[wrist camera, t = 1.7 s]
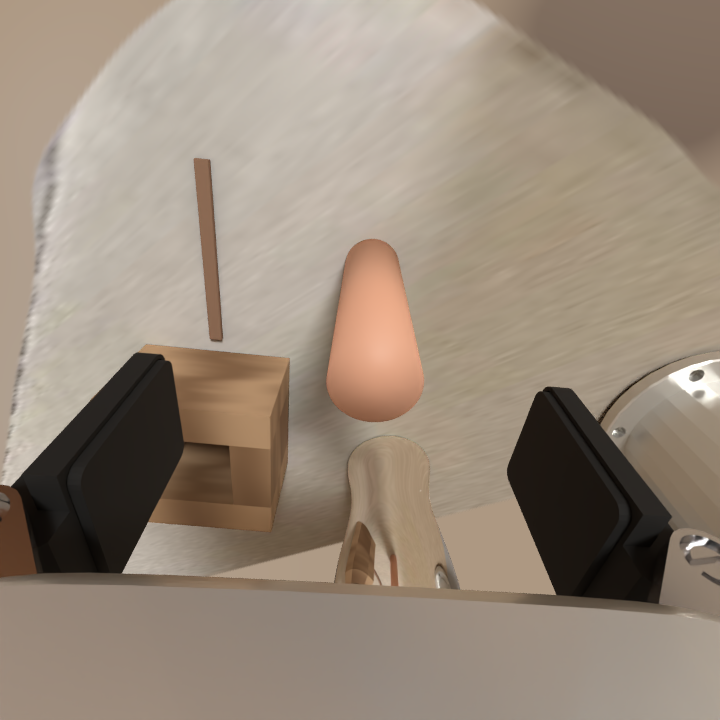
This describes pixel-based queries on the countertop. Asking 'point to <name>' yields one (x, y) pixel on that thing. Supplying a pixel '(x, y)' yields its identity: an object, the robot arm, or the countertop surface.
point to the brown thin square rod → (208, 245)
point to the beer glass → (392, 520)
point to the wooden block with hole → (227, 439)
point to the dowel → (374, 339)
